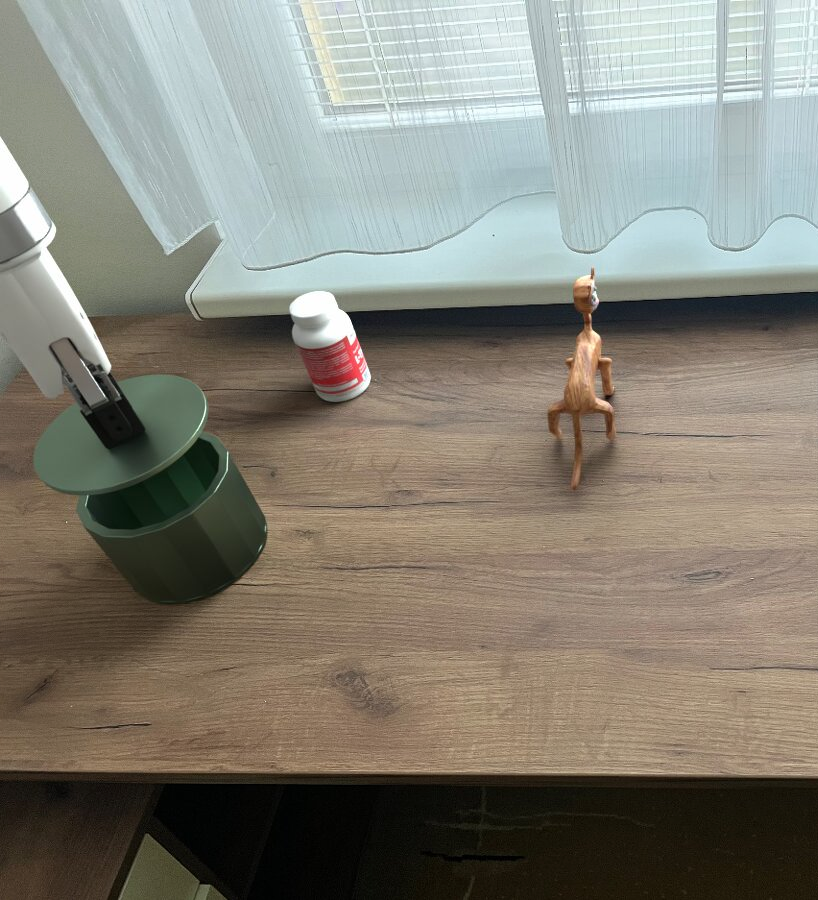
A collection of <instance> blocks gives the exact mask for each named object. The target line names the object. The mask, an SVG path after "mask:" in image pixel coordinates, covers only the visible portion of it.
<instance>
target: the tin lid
mask: <svg viewBox="0 0 818 900" xmlns="http://www.w3.org/2000/svg"><path fill="white" fill-rule="evenodd" d="M106 375H107V374H106ZM108 378H109V377H108ZM95 380H96V382H97V384H100V383H102V381H101V380H100V378H96V379H95ZM110 381H111V380H110ZM116 382H117V384H118V386H119V387H120V389H121V390H122V392H123V393H124V395H125V396H126V398H127V399H128V401H129V403H130V404H131V406H132V408H133V410H134V411H135V413H136V415H137V416H138V418H139V419H140V421H141V422H142V424H143V425H144V427H145V432H144V433H142V434H141V435H139V436H137V437H134V438H132V439H130V440H128V441H126V442H124V443H122V444H120V445H118V446H116V447H114V448H112V449H107V448H105V446H104V445H103V444H102V442H101V441H100V439H99V438H98V437H97V435H96V434H95V432H94V431H93V429H92V428H91V427H90V425H89V424H88V422H87V421H86V420H85V418H84V417H83V415H82V414H81V412H80V410H82V409H81V408H80V406H79V405H78V403H77V402H76V401H75V402H74V403H72V404H71V405H70V406H68V407H67V408H66V409H65V410H63V411H62V412H61V413H60V414H59V415H58V416H57V417H56V418H54V420H52V421H51V423H49V425H48V426H47V427H46V429H45V430H44V431H43V432H42V434H41V435H40V438H39V439H38V441H37V443H36V446H35V448H34V451H33V457H32V460H33V466H34V471H35V473H36V475H37V476H38V478H39V479H40V480H41V481H42V482H43V484H44V485H46V487H49V488H50V489H52V490H53V491H55V492H58V493H60V494H66V495H69V496H79V495H97V494H104V493H108V492H113V491H117V490H120V489H123V488H127V487H129V486H132V485H134V484H137V483H139V482H142V481H144V480H146V479H148V478H150V477H152V476H154V475H155V474H157V473H159V472H161V471H162V470H164V469H165V468H167V467H168V466H170V465H171V464H172V463H174V462H175V461H176V460H177V459H179V458H180V457H181V456H182V455H183V454H184V453H185V452H186V451H188V450H189V448H190V447H191V446H192V445H193V444H194V443H195V442H196V440H197V439H198V437H199V436H200V434H201V433H202V431H204V429H205V427H206V425H207V421H208V418H209V403H208V399H207V397H206V395H205V394H204V392H203V390H202V389H201V387H199V386H198V385H197V384H196V383H195V382H193V381H192V380H190V379H187V378H186V377H183V376H182V377H181V376H178V375H172V374H161V373H160V374H148V375H147V374H145V375H139V376H134V377H130V378H126V379H122V380H119V381H116ZM111 383H112V382H111ZM102 384H103V383H102ZM113 386H114V385H113ZM77 389H78V387H77ZM115 389H116V388H115ZM78 390H79V389H78ZM79 392H80V390H79ZM117 392H118V391H117ZM80 393H81V392H80ZM109 394H110V393H109Z"/></svg>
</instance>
